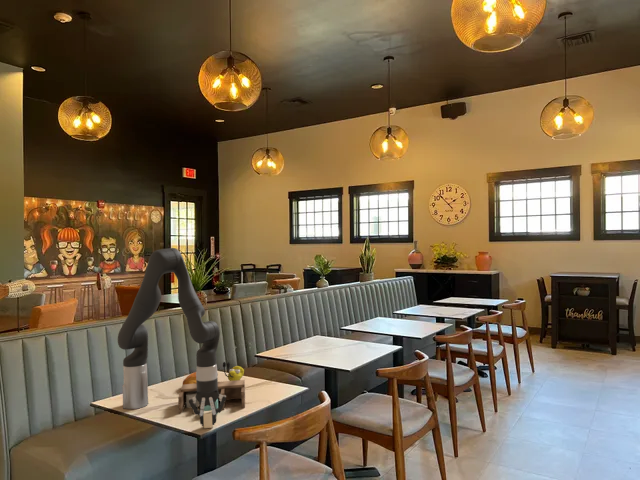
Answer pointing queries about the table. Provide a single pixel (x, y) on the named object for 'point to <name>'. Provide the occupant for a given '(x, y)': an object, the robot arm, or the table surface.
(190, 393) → the plain block
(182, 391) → the lane shelf
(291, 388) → the table surface
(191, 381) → the croissant
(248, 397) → the table surface
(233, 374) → the toy
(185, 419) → the table surface
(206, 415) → the block
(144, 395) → the robot arm
